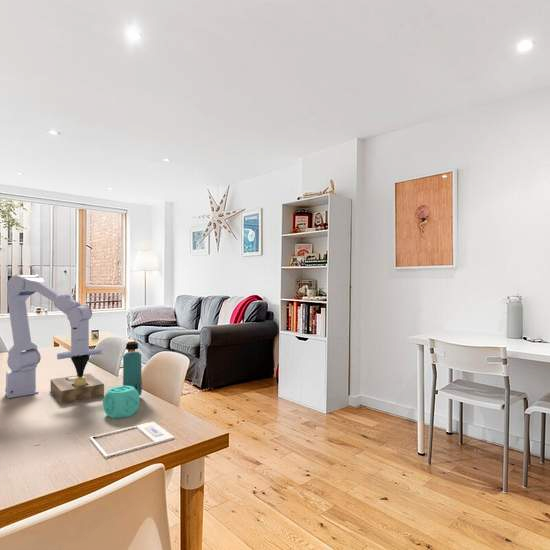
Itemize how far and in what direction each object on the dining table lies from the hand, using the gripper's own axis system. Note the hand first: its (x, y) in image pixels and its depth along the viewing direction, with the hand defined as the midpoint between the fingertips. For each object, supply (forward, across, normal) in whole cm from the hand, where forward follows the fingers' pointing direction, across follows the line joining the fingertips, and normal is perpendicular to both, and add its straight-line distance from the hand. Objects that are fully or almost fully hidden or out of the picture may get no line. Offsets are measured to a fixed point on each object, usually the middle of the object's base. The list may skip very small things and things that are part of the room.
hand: (80, 376), depth 143 cm
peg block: (+7, 0, +5) cm, 9 cm away
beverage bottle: (+8, +14, -14) cm, 21 cm away
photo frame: (+8, +2, -48) cm, 49 cm away
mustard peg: (+5, 0, 0) cm, 5 cm away
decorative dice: (+8, +6, -27) cm, 29 cm away
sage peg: (+7, 0, +10) cm, 12 cm away
